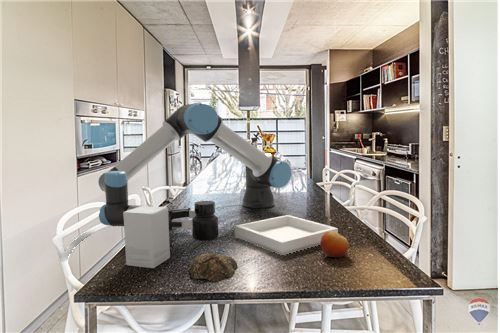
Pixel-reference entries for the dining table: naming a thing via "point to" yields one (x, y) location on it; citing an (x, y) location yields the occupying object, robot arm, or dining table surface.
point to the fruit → (334, 244)
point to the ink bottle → (205, 221)
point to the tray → (283, 233)
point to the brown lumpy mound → (212, 267)
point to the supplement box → (146, 236)
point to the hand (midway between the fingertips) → (199, 219)
